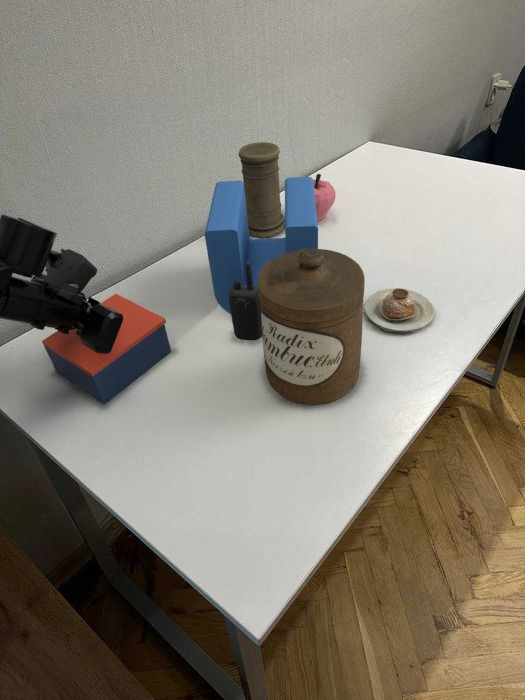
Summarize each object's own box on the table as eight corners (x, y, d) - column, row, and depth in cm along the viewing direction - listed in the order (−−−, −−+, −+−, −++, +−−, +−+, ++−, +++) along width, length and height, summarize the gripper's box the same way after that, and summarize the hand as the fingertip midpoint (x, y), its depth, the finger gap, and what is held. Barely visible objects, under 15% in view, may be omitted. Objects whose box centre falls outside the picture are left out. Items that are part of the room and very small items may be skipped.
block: (218, 319, 92) (203, 231, 80) (226, 264, 105) (215, 181, 93) (317, 315, 91) (318, 225, 79) (313, 260, 104) (313, 176, 92)
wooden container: (248, 385, 79) (233, 267, 65) (293, 330, 88) (289, 215, 74) (334, 419, 73) (340, 297, 58) (373, 356, 82) (386, 236, 67)
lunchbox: (123, 325, 93) (114, 298, 88) (171, 352, 86) (164, 323, 82) (56, 372, 85) (43, 344, 80) (104, 405, 78) (92, 377, 74)
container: (269, 242, 111) (263, 161, 99) (237, 231, 115) (228, 152, 103) (292, 224, 116) (289, 145, 104) (261, 215, 120) (255, 138, 108)
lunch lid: (116, 296, 89) (115, 293, 88) (166, 322, 82) (165, 318, 82) (43, 344, 80) (41, 341, 80) (92, 376, 74) (90, 373, 74)
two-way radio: (266, 330, 89) (260, 257, 79) (261, 347, 86) (254, 273, 76) (236, 328, 90) (226, 255, 80) (229, 344, 87) (218, 271, 77)
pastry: (359, 295, 94) (360, 275, 91) (423, 291, 94) (427, 270, 91) (370, 337, 86) (372, 316, 83) (442, 332, 85) (446, 311, 82)
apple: (292, 212, 120) (290, 171, 113) (327, 206, 121) (328, 165, 114) (302, 231, 113) (301, 189, 106) (339, 225, 114) (341, 183, 107)
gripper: (91, 267, 63) (171, 293, 76) (10, 228, 72) (95, 257, 86) (60, 349, 64) (145, 360, 78) (-16, 300, 73) (72, 318, 87)
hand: (113, 320), depth 82 cm, fingers closed, pressing on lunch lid
